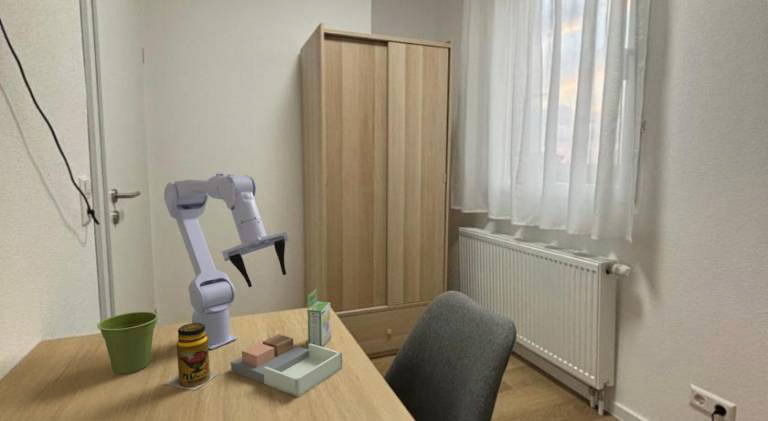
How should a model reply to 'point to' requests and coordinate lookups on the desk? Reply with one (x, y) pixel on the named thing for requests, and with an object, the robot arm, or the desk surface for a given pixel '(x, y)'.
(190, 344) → the condiment
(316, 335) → the ink box
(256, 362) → the terracotta tile
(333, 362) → the tray
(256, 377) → the slate board
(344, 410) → the desk surface
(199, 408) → the desk surface
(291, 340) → the walnut tile
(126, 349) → the plant pot
